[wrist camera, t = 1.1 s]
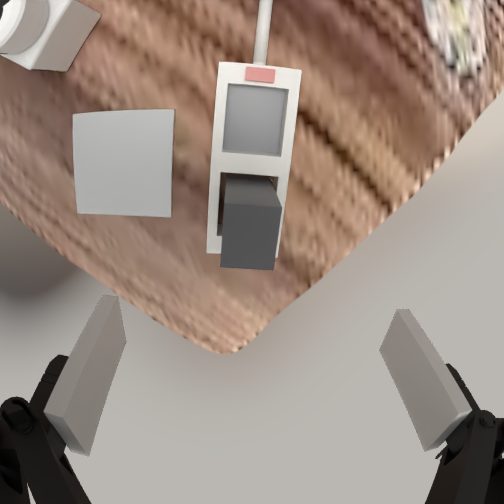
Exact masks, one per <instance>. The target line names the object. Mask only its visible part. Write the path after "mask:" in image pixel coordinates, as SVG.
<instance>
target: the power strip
mask: <svg viewBox="0 0 504 504" xmlns="http://www.w3.org/2000/svg"><path fill="white" fill-rule="evenodd" d="M272 3H273V0H260V2H259V11H258V20H257V29H256V38H255V47H254V56H253V64H246V63H232V62H219V69H218V80H217V90H216V101H215V113H214V126H213V139H212V153H211V169H210V186H209V205H208V227H207V253H215V254H221V245H222V228H223V224H218V217H219V200H220V185H221V172H228V173H242V174H255V175H266V176H274V180H273V187H274V190H275V192H276V194H277V196H278V199H279V201H280V203H281V206H282V213H281V220H280V227H279V235H278V242H277V249H276V255H275V257H278V250H279V243H280V236H281V229H282V222H283V215H284V208H285V201H286V193H287V186H288V178H289V171H290V163H291V155H292V148H293V140H294V132H295V123H296V115H297V107H298V98H299V89H300V80H301V71H302V70H296V69H290V68H282V67H275V66H266V58H267V49H268V39H269V30H270V21H271V12H272Z"/></svg>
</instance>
